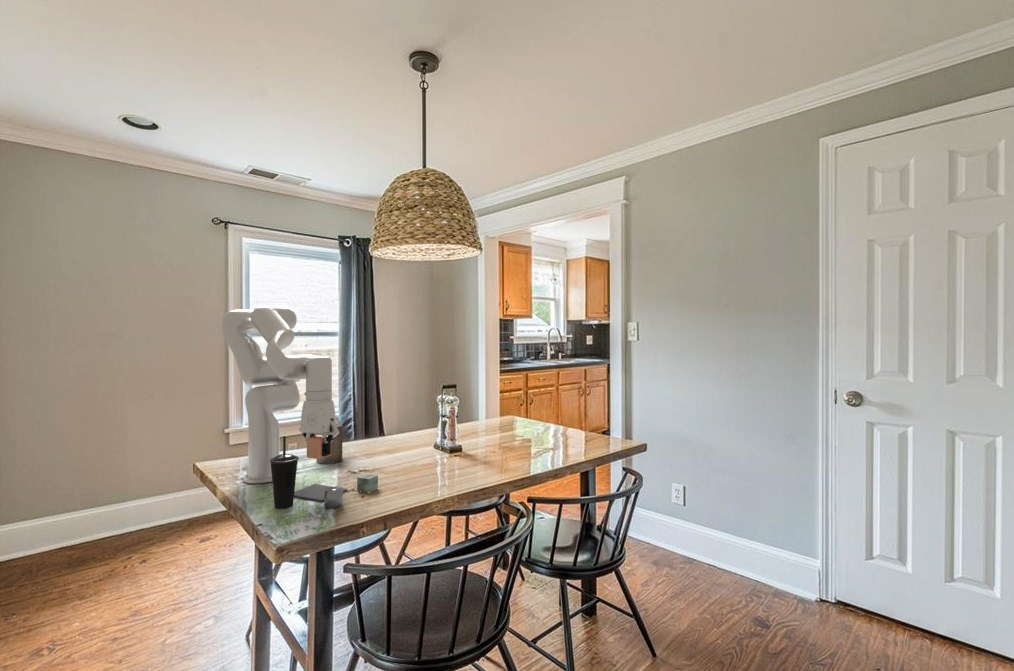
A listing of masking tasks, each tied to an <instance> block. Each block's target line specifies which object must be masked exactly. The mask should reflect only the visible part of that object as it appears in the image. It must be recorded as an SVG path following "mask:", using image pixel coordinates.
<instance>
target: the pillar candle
mask: <svg viewBox="0 0 1014 671" xmlns="http://www.w3.org/2000/svg"><path fill="white" fill-rule="evenodd" d="M336 427H337V429H338V430H339V434H338V435H337V436H335V438H334V439H333V441H332V442H331V455H330V456H327V457H324V458H321V459H316V462H317V463H318V464H326V465H327V464H334V463H338V462H342V461H343V459H344V458H343V424H342V423H337V422H336ZM331 433H332V432H331ZM316 435H322V434H316ZM326 436H327V435H326Z"/></svg>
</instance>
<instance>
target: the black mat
mask: <svg viewBox="0 0 1014 671" xmlns="http://www.w3.org/2000/svg"><path fill="white" fill-rule="evenodd" d="M329 487H333V486H330V485H324V484H317V483H314V484H311V485H308V486H307V487H303V488H301V489H299V490H297V491H294V498H297V499H303V500H307V501H313V502H320V503H323V502H324V490H325V489H326V488H329ZM342 488H343V493H345V491H346V492H347V491H348V488H344V487H342Z"/></svg>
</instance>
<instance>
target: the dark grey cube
mask: <svg viewBox="0 0 1014 671" xmlns="http://www.w3.org/2000/svg"><path fill="white" fill-rule="evenodd" d="M343 488H344V487H342V486H338V485H337V486H332V487H329V488H326V489H325V490H324V501H323V502H324V509H325V510H328V509H333V510H338V509H341V508H342V507H343V505H344V504H343V503H344V502H343V501H344V496H343V495H344V492H343ZM341 506H342V507H341ZM340 507H341V508H340ZM337 508H338V509H337Z"/></svg>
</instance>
